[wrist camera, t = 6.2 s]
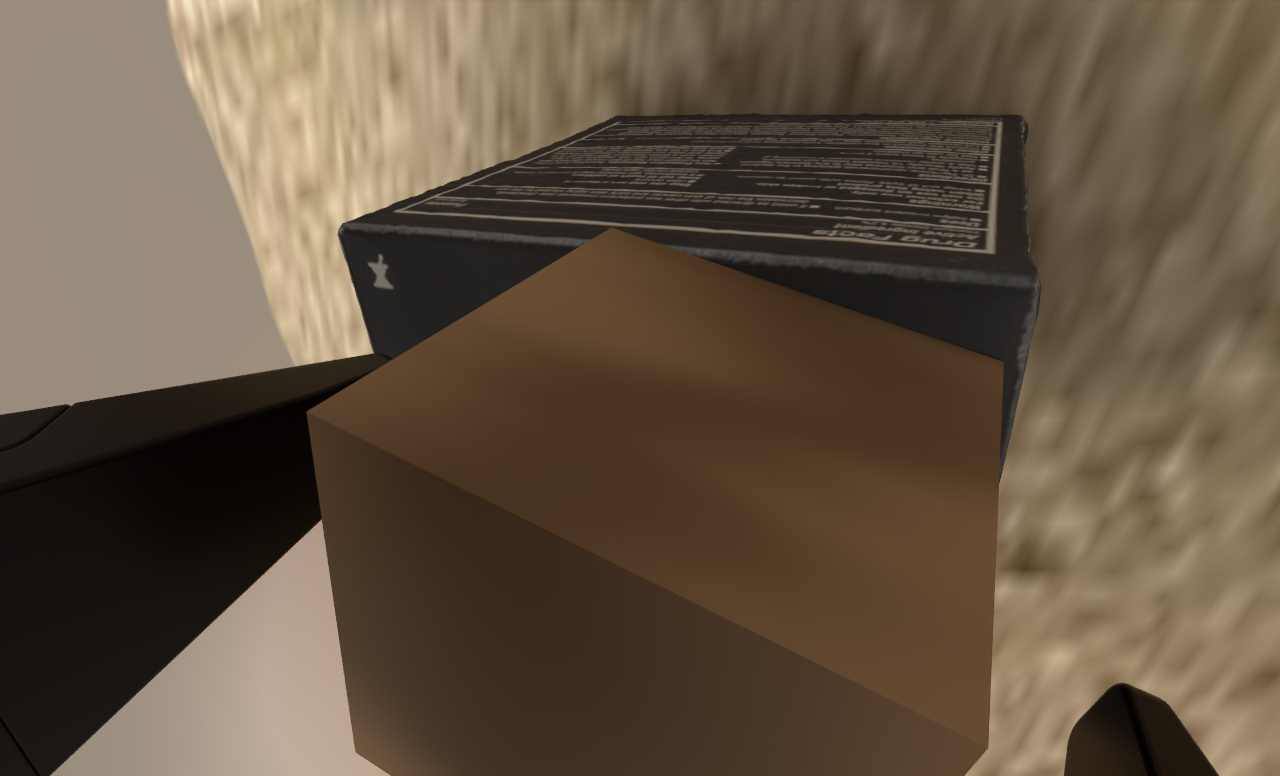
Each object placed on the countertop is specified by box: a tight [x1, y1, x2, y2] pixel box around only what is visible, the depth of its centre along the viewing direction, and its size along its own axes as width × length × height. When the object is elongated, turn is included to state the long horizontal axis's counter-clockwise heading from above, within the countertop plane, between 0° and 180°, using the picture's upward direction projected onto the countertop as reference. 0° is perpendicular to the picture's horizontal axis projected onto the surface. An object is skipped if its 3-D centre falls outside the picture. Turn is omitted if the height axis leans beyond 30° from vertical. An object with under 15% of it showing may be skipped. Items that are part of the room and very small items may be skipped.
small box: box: [338, 114, 1041, 482], centre depth 15 cm, size 11×6×10 cm, turn 94°
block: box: [307, 228, 1004, 776], centre depth 8 cm, size 5×5×5 cm
